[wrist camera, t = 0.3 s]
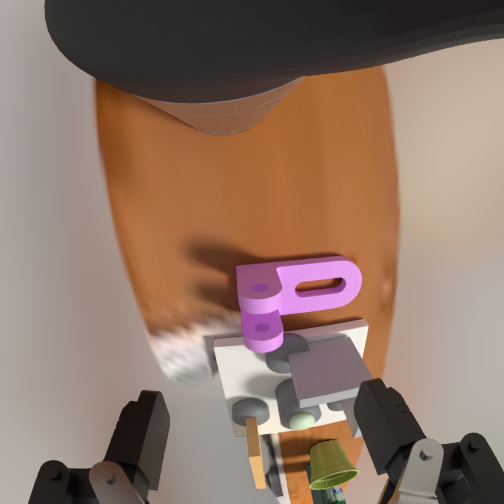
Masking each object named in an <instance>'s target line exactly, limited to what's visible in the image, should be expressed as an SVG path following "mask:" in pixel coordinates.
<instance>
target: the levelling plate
mask: <svg viewBox="0 0 504 504" xmlns="http://www.w3.org/2000/svg"><path fill="white" fill-rule="evenodd" d="M367 331H368V324H367V323H366V321H365V320H364V319H360V320H355V321H350V322H344V323H339V324H333V325H327V326H321V327H315V328H308V329H301V330H294V331H287V332H283V343H282V344H281V346H280V347H279V348H277V349H275V350H273V351H270V352H265V353H259V352H254V351H251V350H249V349H248V348H246V347H245V345H244V343H243V337H234V338H222V339H214V351H215V356H216V360H217V365H218V369H219V373H220V377H221V382H222V386H223V390H224V394H225V398H226V402H227V406H228V410H229V414H230V417H231V421H232V425H233V428H234V432H235V435H236V437H238V436H247V427H245V426H241V425H238V424H236V423H235V422H234V421H233V419H232V407H233V405H234V404H235V403H237V402H238V401H241V400H244V399H260V400H263V401H264V402H266V403H267V404H268V407H269V413H270V418H269V419H268V421H267V422H265V423H264V424H261V425H258V431H259V435H261V434H270V433H278V432H285V431H292V430H304V429H307V428H309V427H314V426H319V425H324V424H329V423H333V422H338V421H342V420H346V419H347V422H348V424H349V427H350V429H351V432H352V435H353V437H354V438H358V437H361V436H362V434H361V431H360V429H359V426H358V424H357V422H356V419H355V416H354V403H355V400H356V397H357V394H358V391H359V388H360V385H361V382H362V381H366V380H371V379H373V378H372V376H371V374H370V372H369V370H368V369H367V367H366V365H365V363H364V361H363V359H362V356H363V352H364V347H365V342H366V337H367Z"/></svg>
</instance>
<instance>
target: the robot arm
mask: <svg viewBox="0 0 504 504" xmlns="http://www.w3.org/2000/svg"><path fill="white" fill-rule="evenodd" d="M44 7H45V20H46V24H47V28H48V31H49V33H50V36H51V38H52V40H53V41H54V43H55V44H56V46H57V47H58V49H59V50H60V52H62V54H63V55H64V56H65V57H66V58H67V59H68V60H69V61H71V62H72V63H73V64H74V65H76V66H77V67H78V68H80V69H81V70H83V71H85V72H86V73H88V74H90V75H91V76H93V77H95V78H97V79H99V80H101V81H103V82H106V83H108V84H110V85H112V86H114V87H116V88H118V89H121V90H123V91H125V92H127V93H129V94H131V95H133V96H135V97H137V98H139V99H141V100H143V101H146V102H148V103H150V104H152V105H154V106H156V107H157V108H159V109H161V110H163V111H165V112H167V113H169V114H171V115H172V116H174V117H176V118H178V119H180V120H181V121H183V122H185V123H187V124H189V125H190V126H192V127H194V128H196V129H198V130H200V131H202V132H205V133H209V134H215V135H229V134H234V133H239V132H242V131H244V130H247V129H249V128H251V127H252V126H254V125H255V124H257V123H258V122H259V121H260V120H261V119H262V118H263V117H264V116H266V115H267V114H268V113H269V112H270V111H271V110H272V109H273V108H274V107H275V106H276V105H277V104H278V103H279V102H280V101H281V100H282V99H283V98H284V97H285V96H286V95H288V94H289V93H290V92H291V91H292V90H293V89H294V88H295V87H296V86H297V85H298V84H299V83H300V82H301V81H302V80H303V79H304V78H306V77H307V76H311V75H321V74H329V73H338V72H345V71H352V70H358V69H364V68H370V67H375V66H379V65H383V64H387V63H392V62H396V61H400V60H403V59H407V58H410V57H415V56H419V55H422V54H426V53H430V52H434V51H438V50H441V49H445V48H449V47H454V46H459V45H464V44H469V43H474V42H479V41H486V40H492V39H501V38H504V0H45V6H44ZM354 416H355V419H356V422H357V424H358V426H359V429H360V431H361V434H362V436H363V439H364V441H365V444H366V446H367V448H368V451H369V454H370V456H371V458H372V461H373V464H374V466H375V469H376V471H377V474H378V475H381V474H384V473H387V474H388V476H389V478H388V479H387V482H386V484H385V486H384V489H383V491H382V493H381V496H380V498H379V501H378V503H377V504H438V503H439V504H504V471H503V469H502V468H501V466H500V464H499V462H498V460H497V458H496V457H495V455H494V453H493V451H492V450H491V448H490V446H489V445H488V443H487V441H486V439H485V438H484V437H483V436H482V435H480V434H478V433H469V434H467V435H465V436H464V437H463V439H462V440H461V441H460V442H456V443H449V444H440V443H439V442H437V441H436V440H433V439H428V438H427V437H426V436H425V435H424V433H423V431H422V429H421V428H420V426H419V424H418V422H417V421H416V419H415V417H414V416H413V414H412V412H410V409H409V407H408V406H407V405H406V402H405V401H404V399H403V397H402V396H401V394H400V393H398V392H397V391H396V390H395V389H393V388H392V387H389V388H386V386H385V384H384V383H383V381H382V380H381V379H380V378H376V379H371V380H366V381H362V382H361V385H360V388H359V391H358V394H357V397H356V400H355V403H354ZM169 427H170V417H169V413H168V410H167V407H166V404H165V401H164V398H163V395H162V393H161V392H160V391H149V390H142V391H141V393H140V396H139V398H138V401H137V402H136V401H130V402H129V403H128V404H127V405H126V406H125V407H124V408H123V409H122V412H121V414H120V417H119V421H118V422H117V425H116V429H115V430H114V433H113V436H112V438H111V442H110V444H109V447H108V450H107V453H106V455H105V458H104V460H103V461H102V462H99V463H97V464H95V465H94V466H93V467H92V468H88V469H75V468H74V469H73V468H67V467H66V466H65V465H64V464H63V463H62V462H60V461H57V460H50V461H47V462H45V463H44V464H43V465H42V466H41V468H40V470H39V473H38V475H37V478H36V481H35V484H34V487H33V490H32V493H31V496H30V499H29V503H28V504H151V503H150V501H149V500H148V498H147V496H148V491H149V489H150V490H155V491H157V490H158V484H159V479H160V474H161V468H162V463H163V457H164V452H165V447H166V442H167V437H168V432H169ZM464 477H465V478H464ZM465 479H466V480H465ZM466 481H467V482H466ZM469 488H470V489H469ZM470 490H471V491H470ZM434 494H435V495H436V497H437V498H435V497H434Z"/></svg>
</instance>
